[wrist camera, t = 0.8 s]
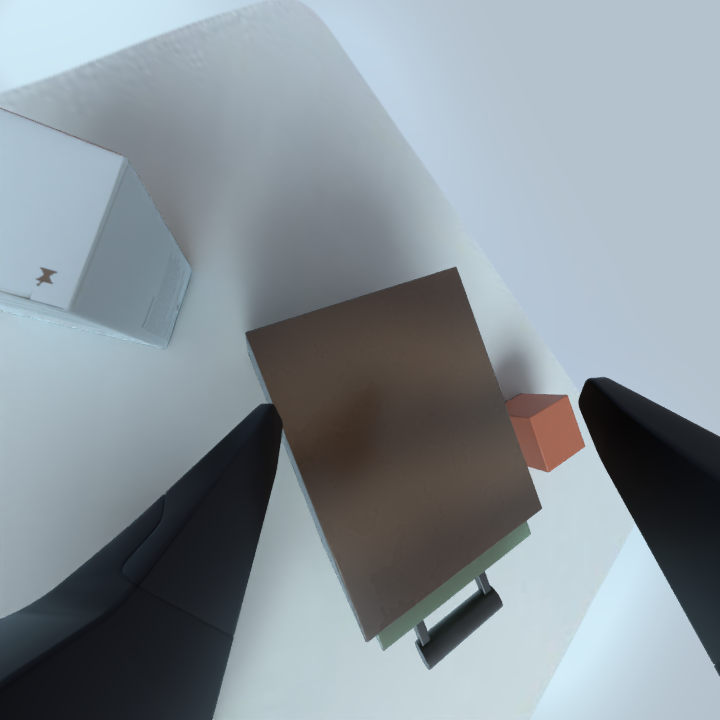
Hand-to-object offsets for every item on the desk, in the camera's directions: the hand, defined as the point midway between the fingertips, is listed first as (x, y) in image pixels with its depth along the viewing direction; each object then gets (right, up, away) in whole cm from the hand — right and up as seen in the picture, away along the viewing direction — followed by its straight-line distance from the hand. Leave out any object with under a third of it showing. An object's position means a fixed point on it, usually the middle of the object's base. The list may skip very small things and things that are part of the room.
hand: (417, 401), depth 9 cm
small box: (-17, +5, +9) cm, 20 cm away
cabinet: (-2, -3, +14) cm, 14 cm away
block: (+12, -5, +19) cm, 23 cm away
